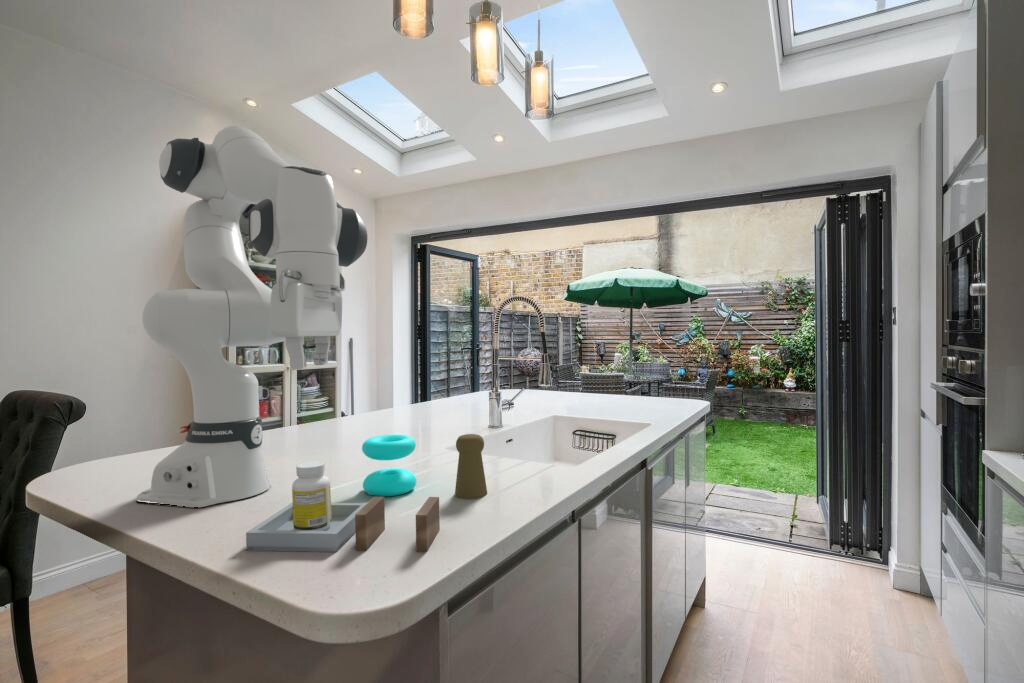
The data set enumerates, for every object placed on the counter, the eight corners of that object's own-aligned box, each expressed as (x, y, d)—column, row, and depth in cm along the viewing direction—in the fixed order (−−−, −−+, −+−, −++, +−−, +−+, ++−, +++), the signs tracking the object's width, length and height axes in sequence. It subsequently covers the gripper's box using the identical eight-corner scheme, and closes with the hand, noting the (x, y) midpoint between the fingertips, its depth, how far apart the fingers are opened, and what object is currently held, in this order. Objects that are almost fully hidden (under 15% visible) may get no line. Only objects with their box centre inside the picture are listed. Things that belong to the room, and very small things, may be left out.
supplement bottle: (307, 521, 83) (306, 459, 83) (338, 523, 82) (336, 460, 82) (285, 534, 78) (283, 467, 78) (318, 536, 76) (316, 469, 76)
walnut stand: (355, 550, 73) (355, 514, 73) (375, 529, 81) (374, 496, 81) (427, 551, 72) (426, 515, 72) (439, 529, 80) (439, 496, 80)
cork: (482, 499, 94) (481, 438, 94) (450, 498, 95) (449, 437, 95) (490, 489, 100) (489, 432, 100) (460, 488, 101) (459, 431, 101)
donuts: (351, 442, 97) (378, 432, 107) (352, 496, 97) (379, 481, 107) (400, 444, 95) (423, 434, 104) (401, 500, 95) (425, 484, 104)
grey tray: (246, 550, 73) (246, 532, 73) (292, 517, 86) (292, 502, 86) (336, 551, 72) (336, 533, 72) (369, 518, 85) (369, 503, 85)
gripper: (304, 266, 69) (306, 372, 69) (348, 281, 89) (349, 362, 90) (255, 267, 69) (257, 372, 69) (310, 282, 89) (312, 363, 90)
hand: (310, 367), depth 80 cm, fingers open, 8 cm apart
